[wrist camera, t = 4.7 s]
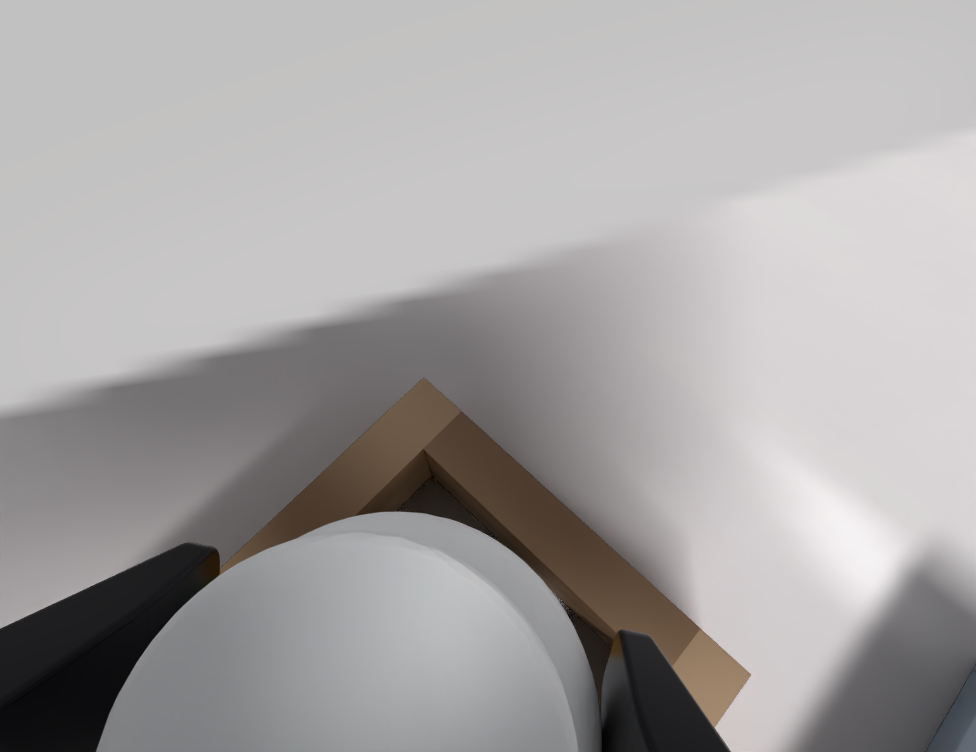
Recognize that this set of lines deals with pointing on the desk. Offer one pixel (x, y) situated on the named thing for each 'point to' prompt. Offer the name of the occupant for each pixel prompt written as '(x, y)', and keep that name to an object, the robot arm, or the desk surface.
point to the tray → (959, 722)
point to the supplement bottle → (365, 652)
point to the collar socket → (504, 530)
